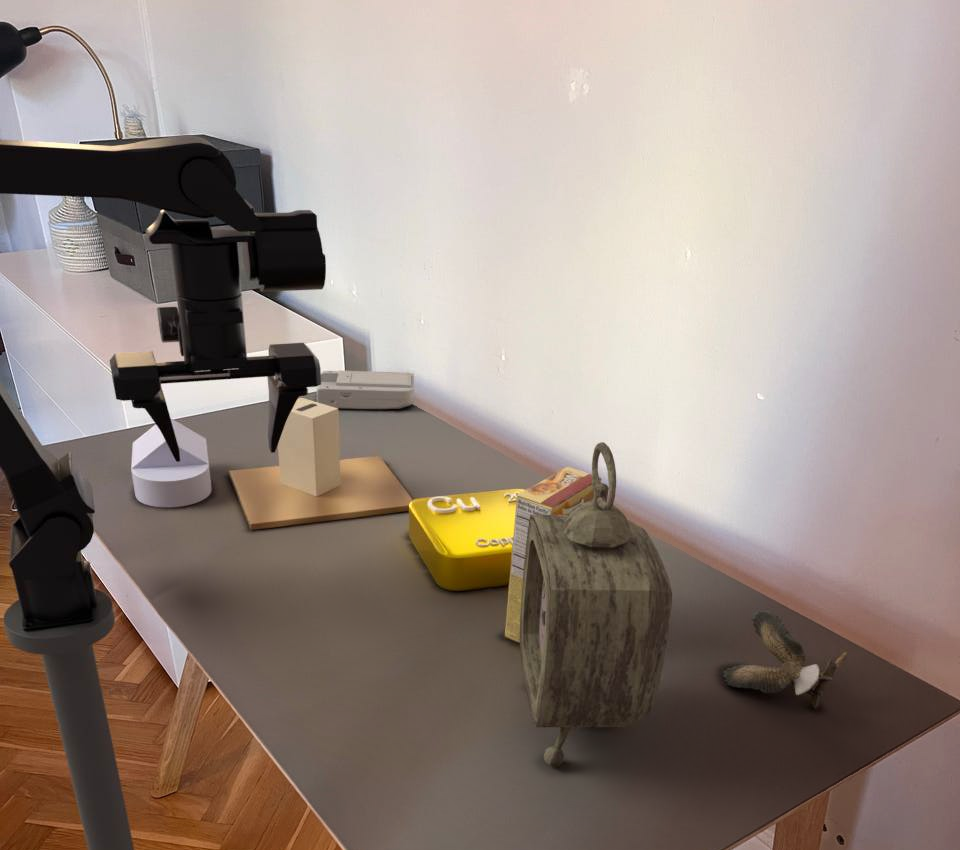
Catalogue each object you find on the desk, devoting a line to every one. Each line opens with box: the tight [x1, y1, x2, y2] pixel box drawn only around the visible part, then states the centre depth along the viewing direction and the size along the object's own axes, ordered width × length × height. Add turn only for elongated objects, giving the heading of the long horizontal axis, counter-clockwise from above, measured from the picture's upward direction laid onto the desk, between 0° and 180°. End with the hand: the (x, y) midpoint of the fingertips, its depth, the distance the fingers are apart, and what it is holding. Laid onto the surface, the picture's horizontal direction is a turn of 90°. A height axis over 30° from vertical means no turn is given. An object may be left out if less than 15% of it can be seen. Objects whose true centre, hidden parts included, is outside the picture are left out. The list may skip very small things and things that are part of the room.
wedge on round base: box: [130, 418, 212, 508], centre depth 116 cm, size 9×7×13 cm
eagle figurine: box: [722, 609, 849, 710], centre depth 85 cm, size 8×7×9 cm
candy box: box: [504, 466, 602, 644], centre depth 90 cm, size 9×4×15 cm, turn 145°
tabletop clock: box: [519, 441, 673, 767], centre depth 74 cm, size 14×9×25 cm, turn 4°
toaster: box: [277, 397, 341, 497], centre depth 116 cm, size 6×6×10 cm
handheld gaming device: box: [315, 370, 415, 410], centre depth 147 cm, size 9×15×4 cm, turn 94°
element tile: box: [408, 488, 526, 592], centre depth 105 cm, size 15×15×5 cm
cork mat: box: [228, 455, 414, 531], centre depth 118 cm, size 20×16×1 cm
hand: (225, 455), depth 94 cm, fingers open, 9 cm apart
